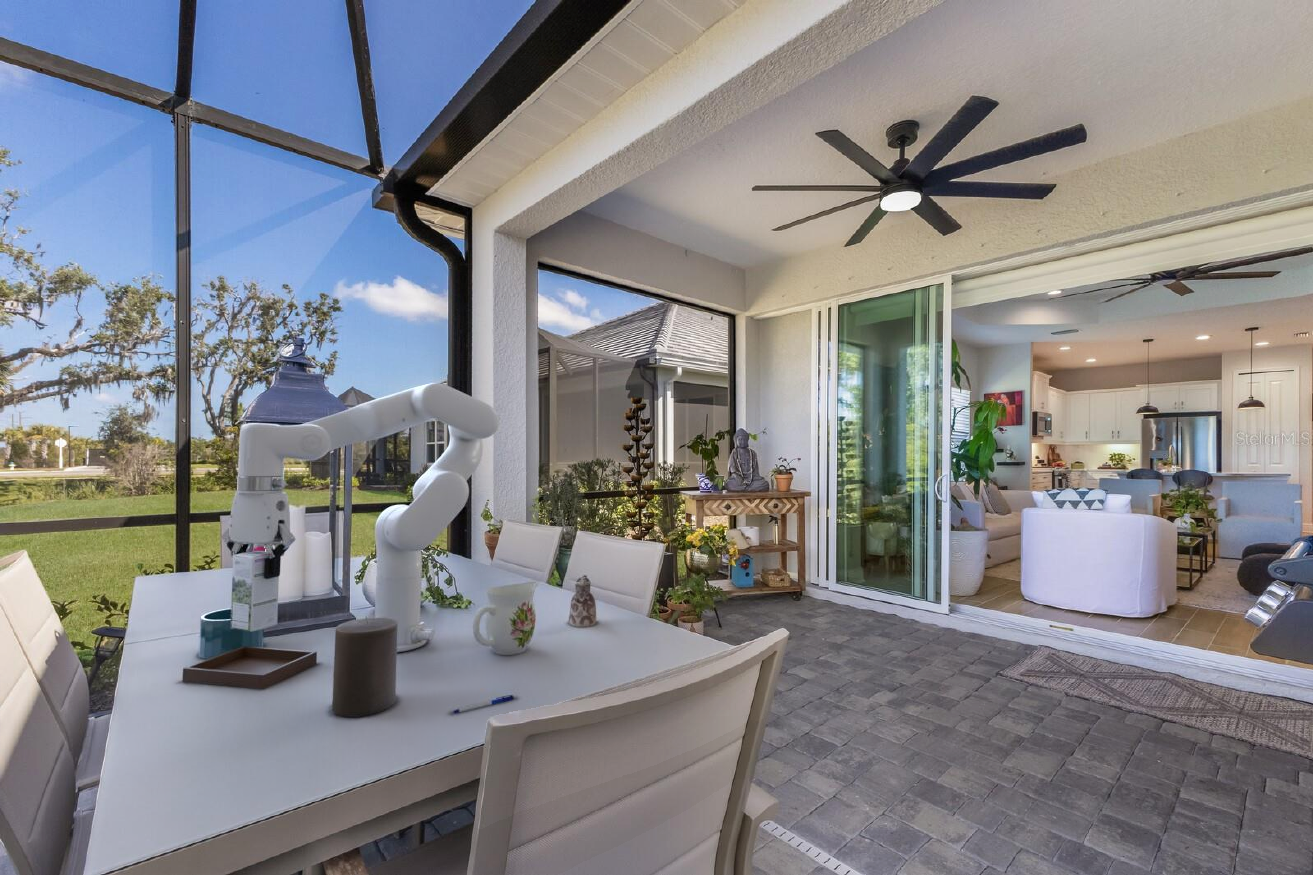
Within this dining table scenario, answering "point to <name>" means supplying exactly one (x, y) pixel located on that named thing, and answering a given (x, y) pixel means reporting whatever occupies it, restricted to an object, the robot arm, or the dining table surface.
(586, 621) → the figurine
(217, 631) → the cup
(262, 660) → the tray
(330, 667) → the dining table surface
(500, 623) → the pitcher
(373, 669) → the pillar candle
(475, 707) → the ballpoint pen
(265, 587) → the syrup box
